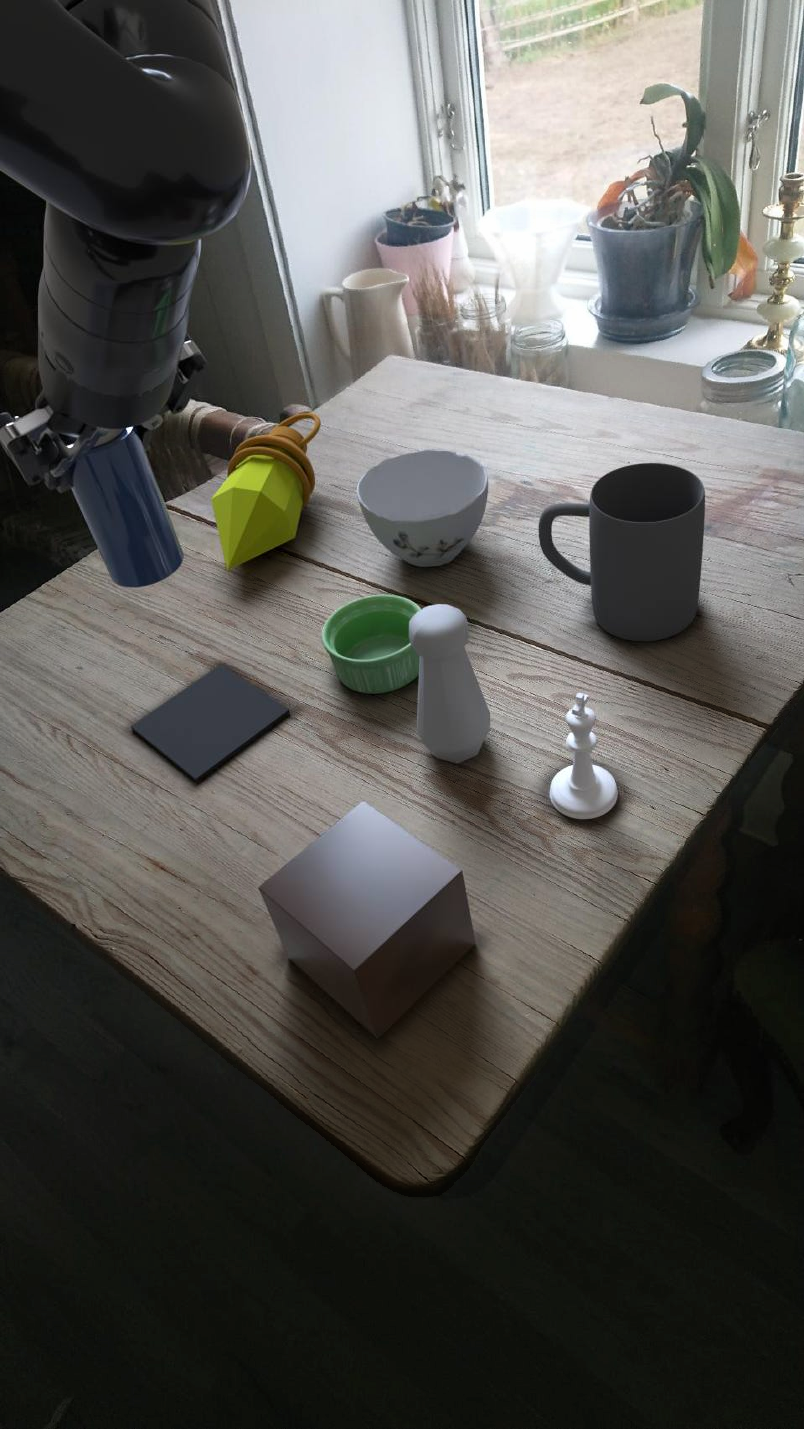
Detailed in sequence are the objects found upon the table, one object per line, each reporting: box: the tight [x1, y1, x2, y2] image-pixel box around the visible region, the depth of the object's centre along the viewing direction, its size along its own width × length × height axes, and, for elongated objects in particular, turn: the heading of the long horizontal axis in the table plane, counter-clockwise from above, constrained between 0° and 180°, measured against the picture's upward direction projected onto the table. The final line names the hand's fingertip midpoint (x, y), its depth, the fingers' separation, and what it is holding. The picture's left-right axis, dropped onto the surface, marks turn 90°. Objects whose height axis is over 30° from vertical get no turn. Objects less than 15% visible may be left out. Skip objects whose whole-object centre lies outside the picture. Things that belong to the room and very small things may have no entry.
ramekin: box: [321, 594, 422, 695], centre depth 84 cm, size 9×9×4 cm
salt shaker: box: [409, 603, 491, 764], centre depth 73 cm, size 6×6×13 cm
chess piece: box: [549, 692, 619, 820], centre depth 68 cm, size 5×5×10 cm
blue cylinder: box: [55, 426, 185, 589], centre depth 68 cm, size 6×6×12 cm
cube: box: [257, 800, 477, 1040], centre depth 62 cm, size 9×9×8 cm
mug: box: [538, 462, 706, 642], centre depth 82 cm, size 14×9×12 cm
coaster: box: [130, 663, 291, 783], centre depth 84 cm, size 10×10×1 cm
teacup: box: [356, 448, 489, 568], centre depth 95 cm, size 15×12×8 cm
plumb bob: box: [210, 412, 322, 571], centre depth 102 cm, size 9×9×25 cm
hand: (95, 459), depth 68 cm, fingers closed on blue cylinder, 5 cm apart
